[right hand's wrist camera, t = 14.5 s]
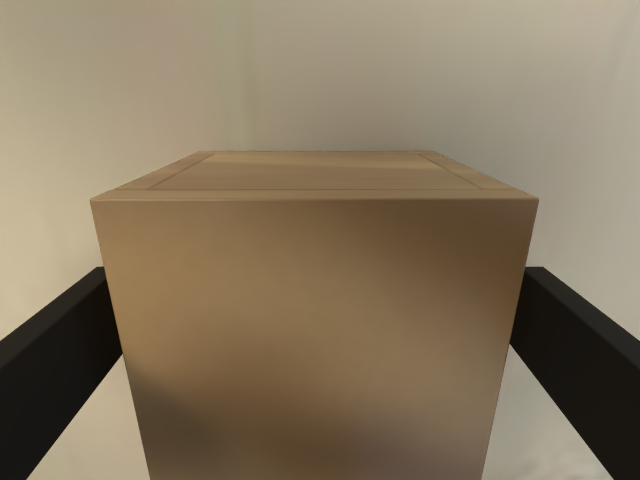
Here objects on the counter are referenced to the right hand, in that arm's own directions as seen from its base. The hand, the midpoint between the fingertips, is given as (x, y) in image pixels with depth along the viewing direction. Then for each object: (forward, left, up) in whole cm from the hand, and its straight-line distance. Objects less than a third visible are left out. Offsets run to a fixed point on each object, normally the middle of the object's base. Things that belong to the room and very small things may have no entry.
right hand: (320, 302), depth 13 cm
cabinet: (+4, -3, -6) cm, 8 cm away
